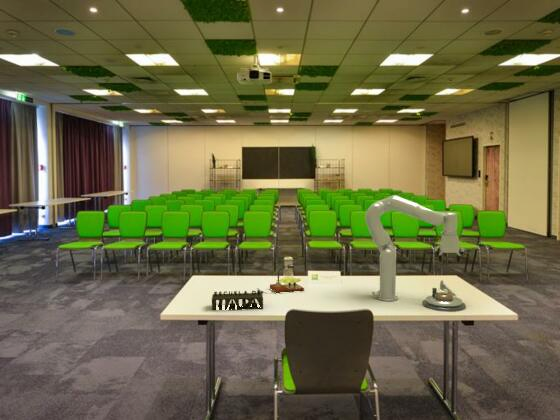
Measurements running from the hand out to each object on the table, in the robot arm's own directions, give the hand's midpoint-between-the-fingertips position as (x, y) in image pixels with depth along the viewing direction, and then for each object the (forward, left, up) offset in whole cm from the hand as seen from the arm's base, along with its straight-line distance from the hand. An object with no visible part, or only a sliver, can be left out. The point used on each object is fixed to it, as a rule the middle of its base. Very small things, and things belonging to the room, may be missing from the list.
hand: (449, 262), depth 287 cm
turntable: (-4, -7, -23) cm, 24 cm away
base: (-4, -7, -24) cm, 26 cm away
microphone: (-104, +18, -25) cm, 108 cm away
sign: (-123, -24, -25) cm, 128 cm away
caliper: (+5, +25, -25) cm, 35 cm away
